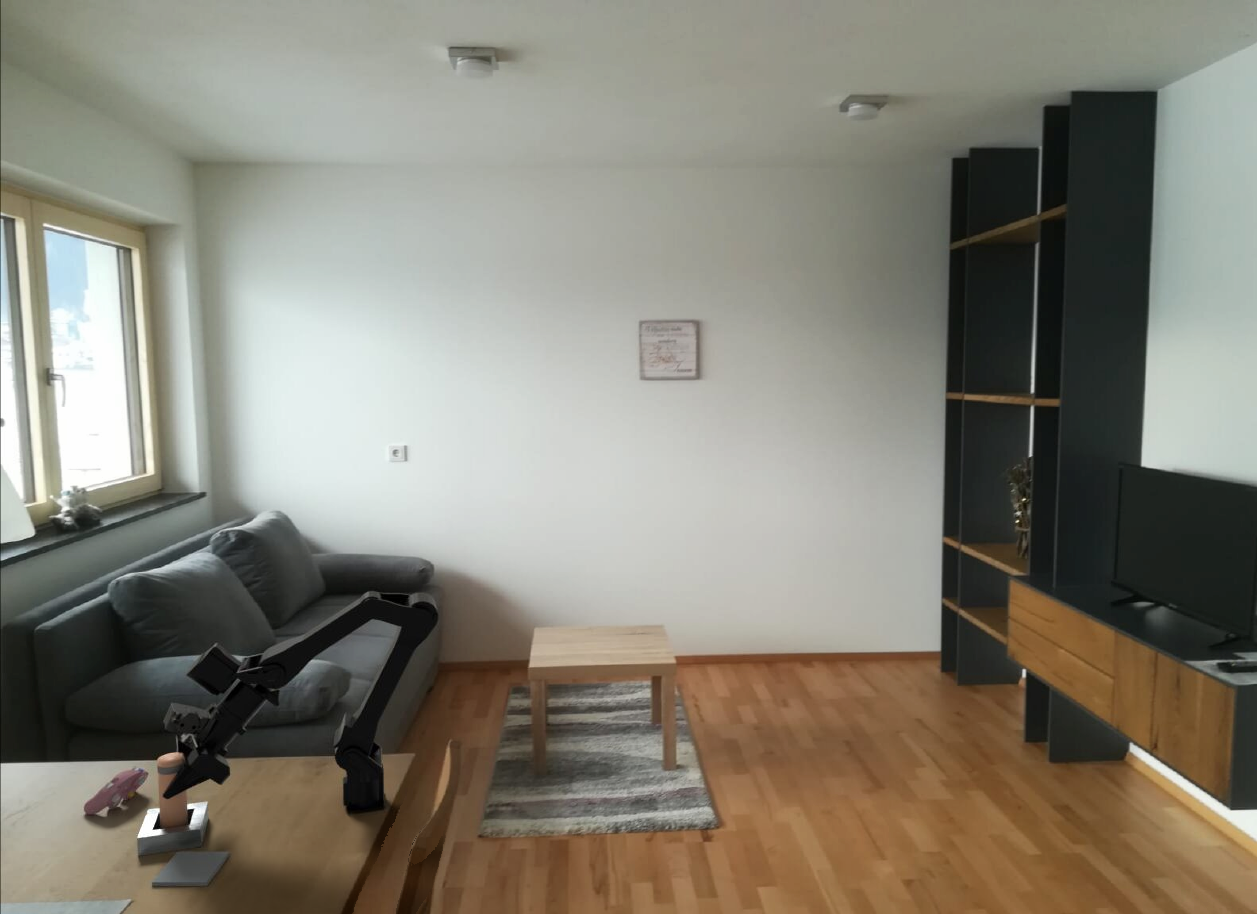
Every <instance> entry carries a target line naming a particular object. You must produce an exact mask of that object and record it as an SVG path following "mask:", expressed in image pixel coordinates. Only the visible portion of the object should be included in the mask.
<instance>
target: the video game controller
mask: <svg viewBox="0 0 1257 914" xmlns="http://www.w3.org/2000/svg"><path fill="white" fill-rule="evenodd" d="M148 777H149V772H148V771H147V770H145V769H143V768H141V767H137V766H133V767H132V769H128V770H123V771H120V772H118V773H117V774H116V775H115V776H114V777H113V778H112V779H111V780H110V781H109V782H107V783H106V784H105V785H104V786H102V787H101V788H100V790H98V792H97V793H96V794H95V795H94V796H93V797H91V798H90V799H89V800H87V801H86V802H85V803H84V805H83V811H84V813H85V814H86V815H89V816H90V815H96V814H98V813H100V812H102V811H103V810H104V809H106V808H108V809H110V810H112V811H113V810H114V809H115V808H117V807H118V806H119V805H120V803H121V802H122V799H123V800H124V801H128V800H130V799H131V798H132V797H133V796H134V794H135V793H136V792H137V790H138V789H139V788H140V787H141V786H142V785H144V783H145V781H146V780H147V779H148Z"/></svg>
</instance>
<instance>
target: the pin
mask: <svg viewBox="0 0 1257 914" xmlns="http://www.w3.org/2000/svg"><path fill="white" fill-rule="evenodd" d="M182 754H183V753H179V752H176V751H175V752H170V753H166V754H164V755H160V756H159V757H158V758H157V760H156V762H157V763H156V768H157V787H158V802H159V803H158V805H159V807H158V808H159V809H160V829H165V828H172V827H179V826H186V825H188V811H187V804H188V794H187V793H188V791H187V790H188V789H187V790H185V791H183V792H181V793H179V794H178V795H176V796H174V797H172V798H170V799H165V798H164V797H163V796H162V795H163V793H164V792H165V790H166V789H167V787H168V786H169V784H170V783H171V781H172V780H173V778H174V777H175V776H176V774H177V773H178V771H179V770H180V769H181V767H182Z"/></svg>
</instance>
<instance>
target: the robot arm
mask: <svg viewBox="0 0 1257 914" xmlns="http://www.w3.org/2000/svg"><path fill="white" fill-rule="evenodd" d="M372 620H375V621H381V622H384V623H387V624H390V625H393V626H397V628H396V633H395V637H394V638H393V641H392V643H391V645H390V647H389V649H388V651H387V653H386V655H385V657H384V659H383V661H382V664H380V667H379V669H378V671H377V673H376V675H375V677H374V678H373V681H372V683H371V685H370V687H369V689H368V691H367V692H366V695H365V697H364V698H363V701H362V703H361V705H360V707H359V708H358V709H357V710H356V712H355V713H353V714H352V715H351V714H350V713H349V712H344V715H343V719H342V722H341V724H340V726H339V727H338V728H337V729H336V730H335V732H334V739H333V740H334V741H333V748H334V760H335V762H336V763H335V764H336V765H337V766H339V767H338V768H340V769H342V770H344V771H345V772H346V773H345V775H346V776H344V777H342V800H343V801H342V804H343V806H344V807H345V808H346V809H345V810H346V811H345V812H346V814H348V815H349V814H355V813H364V812H370V811H377V810H384V809H385V808H386V801H385V799H386V798H385V776H384V775H385V769H384V763H383V747H382V746H381V745H380V744H379V743H378V742H376V741H375V738H376V734H377V730H378V725H379V723H380V720H381V718H382V717H383V715H384V713H385V710H386V708H387V706H388V704H389V702H390V701H391V699H392V697H393V694H394V692H395V690H396V688H397V687H398V684H399V683H400V681H401V678H402V676H403V674H404V672H405V670H406V668H407V666H408V665H409V663H410V660H411V659H412V657H413V655H414V653H415V652H416V650H417V649H418V648H419V647H420V646H421V645H422V644H423V643H424V642H425V641H426V640H427V639H428V637H429V636H430V634H431V633H432V632H433V630H434V629H435V627H436V626H437V624H438V621H439V612H438V608H437V603H436V599H435V598H433V596H432V595H431V594H429V593H427V592H415V593H413V594H408V593H402V592H401V593H400V592H379V591H374V590H369V591H367V592H364V593H363V594H362V596H361V597H359V598H358V599H356V600H355V601H353V602H351V603H350V604H348V605H347V606H346V607H344V608H343V609H341V610H339V611H338V612H336V613H335V614H333V615H332V616H330V617H328V618H327V619H325V620H324V621H323V622H321V623H319V624H318V625H316V626H315V627H313V628H312V629H310V630H309V631H307V632H305V633H304V634H302V635H299V636H296V637H293V638H289V639H286V640H284V641H281V642H279V643H277V644H274V645H272V646H270V647H269V648H267V649H266V650H264V652H263V653H262V652H261V653H257V654H254V655H248V656H245V657H242V659H241V660H239V659H237V658H236V657H235V656H233V655H232V654H231V653H230V652H228V651H227V650H226V648H225V647H223V646H222V645H221V644H220V643H218V642H216V643H214V644H213V645H212V647H210V648H209V649H207V651H205V652H202V654H201V655H200V656H199V657H198V658H197V659H196V660H195V661H194V663H192V664H191V666H190V667H189V668H188V670H186V672H185V673H184V676H185V678H187V679H189V680H190V681H192V682H193V683H194V684H196V685H197V686H198V687H200V688H201V689H203V690H204V691H205V692H207V693H208V694H210V695H211V696H214V695H215V696H217V697H218V696H219V695H224V694H225V693H226V692H227V691H228V690H229V689H230V688H231V687H232V688H231V690H229V692H228V693H227V694H226V695H225V696H224V697H223V698H222V699H221V700H220V701H219V703H218V704H216V703H215V702H213V704H212V703H211V704H209V706H207V708H205V709H203V708H199V707H196V706H192V705H187V704H183V703H182V704H181V703H177V702H171V703H170V705H169V708H168V710H167V712H166V714H165V715H164V719H163V721H162V722H163V724H164V729H165V730H166V731H168V732H172V733H177V732H178V733H182V735H179V734H176V735H175V739H176V740H175V741H176V751H175V753H176V752H179V753H183V754H182V767H181V769H180V770H179V771H178V773H177V774H176V776H175V777H174V778H173V780H172V781H171V783H170V784H169V786H168V787H167V789H166V790H165V792H164V793H163V795H162V796H163V797H164V798H165V799H170V798H172V797H174V796H176V795H178V794H179V793H181V792H183V791H185V790H189V789H192V788H193V787H196V786H197V785H200V784H202V783H205V782H207V781H209V780H211V781H212V782H215V783H216V784H218V785H220V786H222V785H223V784H224V783H225V781H227V779H228V778H229V777H230V776H231V767H230V765H229V762H228V760H227V758H225V756H226V755H227V753H229V752H228V751H229V750H228V749H227V747H228V746H229V744H231V743H232V741H234V739H235V738H236V737H237V735H239V736H241V737H243V735H244V734H245V733H246V732H247V729H246V728H245V727H246V726H247V724H249V722H250V721H251V720H252V719H253V718H254V717H255V715H256V714H257V713H258V712H259V710H261V708H262V707H264V705H265V704H266V703H267V701H268V702H269V703H270V704H272V705H273V706H274V707H275V708H276V707H279V706H280V699H279V697H280V692H281V690H280V689H282V688H284V687H286V686H287V685H288V684H289V683H290V682H291V681H292V680H293V679H295V678H296V677H297V675H299V674H300V673H301V672H302V671H303V670H304V669H305V667H307V665H308V664H310V662H311V661H312V660H313V659H314V658H315V657H317V656H318V655H319V654H321V653H323V652H324V651H326V650H328V649H329V648H330V647H332V646H334V645H335V644H337V643H338V642H339V641H342V640H343V639H345V638H346V637H347V636H349V635H350V634H352V633H354V632H355V631H357V630H358V629H360V628H361V627H362V626H364V625H365V624H367V623H369V622H370V621H372ZM237 680H238V681H237ZM236 681H237V683H236V684H235V685H234V683H235V682H236ZM233 685H234V686H233Z"/></svg>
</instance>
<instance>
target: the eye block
mask: <svg viewBox="0 0 1257 914" xmlns="http://www.w3.org/2000/svg"><path fill="white" fill-rule="evenodd" d="M187 811H188V825H186V826H179V827H172V828H165V829H160V809H159V807H158V808H149V809H147V812H146V815H145V816H144V819H143V822H142V825H141V827H140V830H139V833H138V835H137V838H136V842H137V843H136V845H137V857H140V856H141V857H142V856H148V855H154V854H155V855H156V854H160V853H168V852H174V851H182V850H188V849H193V848H194V849H195V848H200V847H201V848H202V846H203V842H204V837H205V833H206V830H207V825H208V821H209V801H201V802H200V801H199V802H195V803H187Z"/></svg>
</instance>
